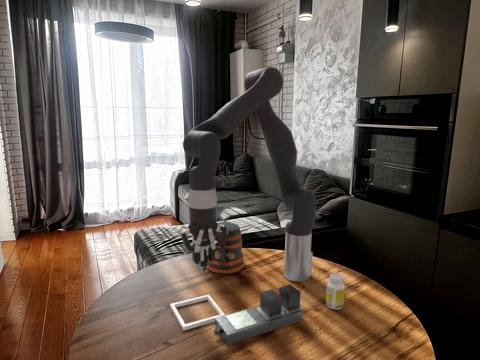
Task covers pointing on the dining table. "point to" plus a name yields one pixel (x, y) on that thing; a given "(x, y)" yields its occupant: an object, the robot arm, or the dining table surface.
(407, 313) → the dining table surface
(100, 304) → the dining table surface
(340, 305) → the supplement bottle
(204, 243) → the push button
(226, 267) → the beer stein
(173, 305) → the empty frame
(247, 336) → the power strip
